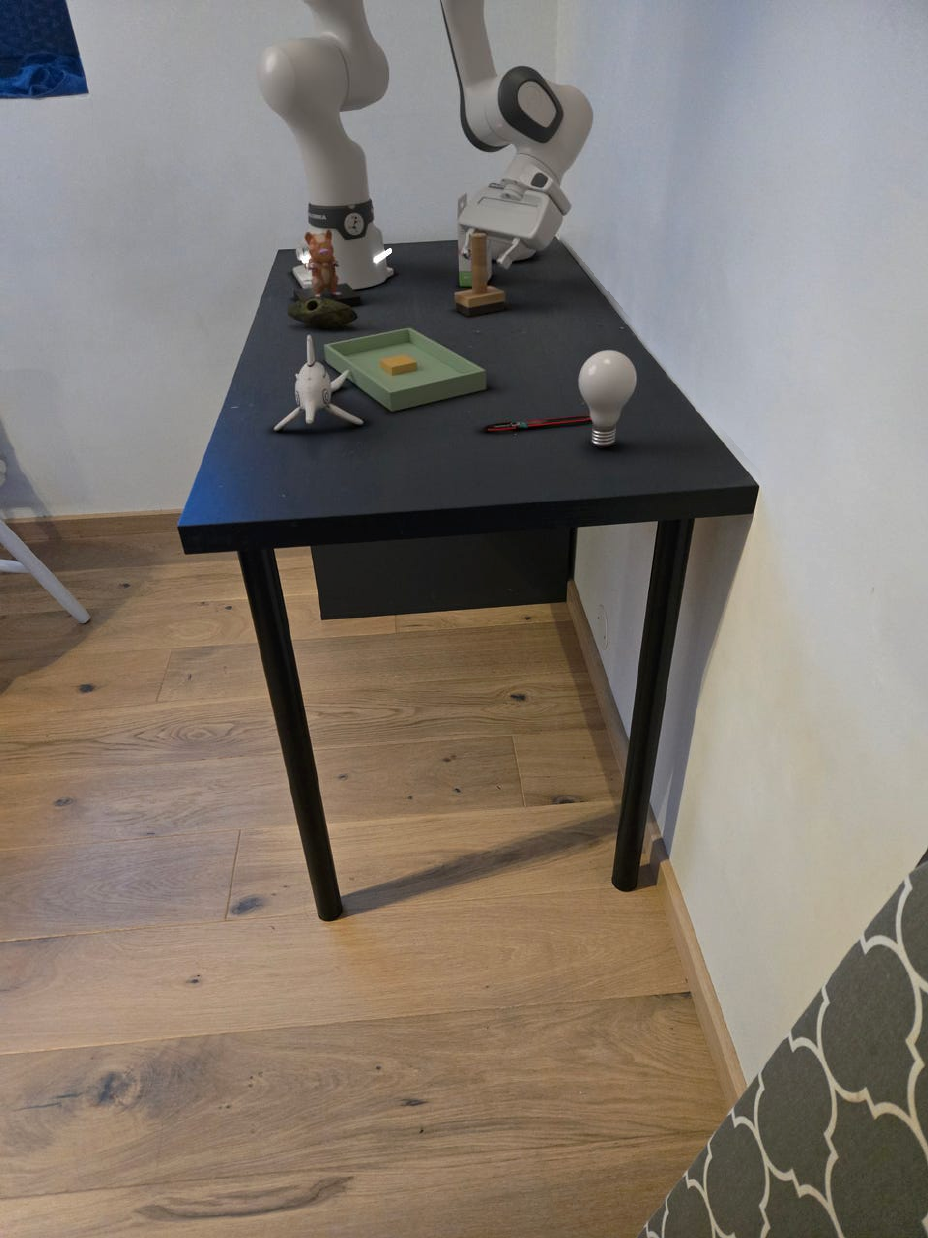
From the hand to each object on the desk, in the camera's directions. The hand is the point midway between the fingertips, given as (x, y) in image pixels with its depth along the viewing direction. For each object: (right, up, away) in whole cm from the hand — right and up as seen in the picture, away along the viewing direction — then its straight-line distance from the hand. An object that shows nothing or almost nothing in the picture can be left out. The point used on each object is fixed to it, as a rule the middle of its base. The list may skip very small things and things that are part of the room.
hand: (483, 261), depth 137 cm
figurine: (-28, -2, +12) cm, 31 cm away
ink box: (-1, +5, +20) cm, 20 cm away
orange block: (-13, -24, -20) cm, 33 cm away
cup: (+6, +15, +34) cm, 38 cm away
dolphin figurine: (-22, -34, -32) cm, 51 cm away
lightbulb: (+13, -40, -42) cm, 59 cm away
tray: (-12, -25, -20) cm, 34 cm away
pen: (+6, -36, -36) cm, 52 cm away
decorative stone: (-27, -11, 0) cm, 29 cm away
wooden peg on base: (0, -7, +4) cm, 8 cm away
